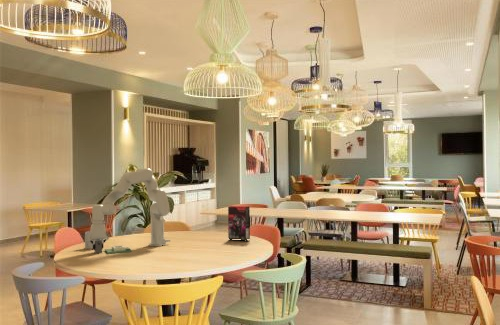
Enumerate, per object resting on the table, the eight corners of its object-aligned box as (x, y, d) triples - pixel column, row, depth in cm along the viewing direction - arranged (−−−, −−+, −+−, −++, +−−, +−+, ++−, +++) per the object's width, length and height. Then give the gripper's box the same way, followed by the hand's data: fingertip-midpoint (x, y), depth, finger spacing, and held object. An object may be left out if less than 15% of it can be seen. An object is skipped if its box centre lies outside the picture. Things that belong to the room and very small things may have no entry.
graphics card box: (227, 240, 357) (227, 206, 358) (232, 239, 363) (232, 205, 364) (245, 242, 348) (245, 206, 349) (250, 240, 354) (250, 206, 355)
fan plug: (100, 251, 309) (100, 239, 310) (102, 253, 301) (102, 241, 301) (94, 252, 308) (94, 240, 308) (96, 254, 299) (96, 242, 300)
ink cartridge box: (101, 247, 325) (101, 227, 325) (97, 249, 320) (97, 228, 320) (88, 247, 327) (88, 227, 327) (84, 248, 322) (84, 228, 322)
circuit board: (128, 249, 319) (128, 244, 319) (131, 251, 307) (131, 247, 307) (104, 250, 312) (104, 246, 312) (107, 253, 300) (107, 249, 300)
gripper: (109, 221, 313) (109, 247, 313) (84, 222, 306) (84, 249, 305) (111, 222, 307) (111, 249, 306) (85, 224, 299) (85, 251, 299)
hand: (98, 249), depth 306 cm, fingers closed on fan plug, 4 cm apart
